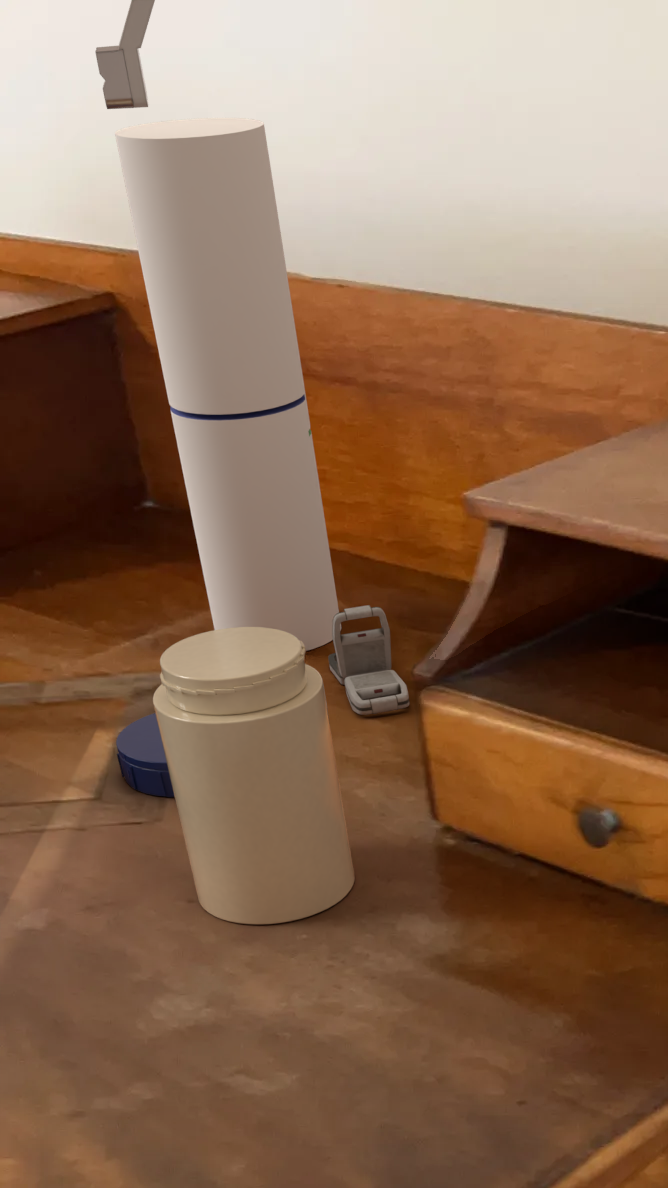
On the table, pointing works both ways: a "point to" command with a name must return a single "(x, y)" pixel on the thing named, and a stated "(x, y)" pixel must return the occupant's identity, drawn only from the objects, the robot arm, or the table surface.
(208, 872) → the jar
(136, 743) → the lid
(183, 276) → the cylindrical container
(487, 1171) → the table surface
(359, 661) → the strap clip
